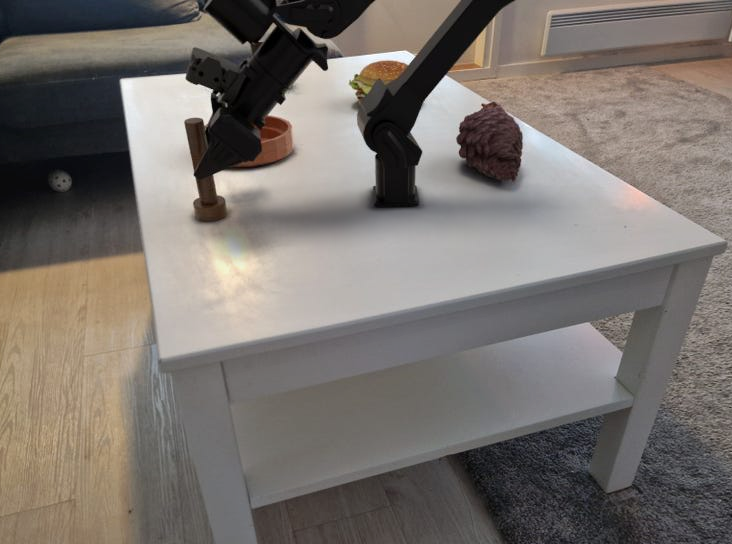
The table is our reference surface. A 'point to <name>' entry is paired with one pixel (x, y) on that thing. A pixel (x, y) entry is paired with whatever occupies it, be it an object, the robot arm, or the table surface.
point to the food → (376, 76)
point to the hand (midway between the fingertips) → (197, 164)
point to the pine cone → (491, 142)
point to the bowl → (272, 141)
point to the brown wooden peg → (208, 201)
